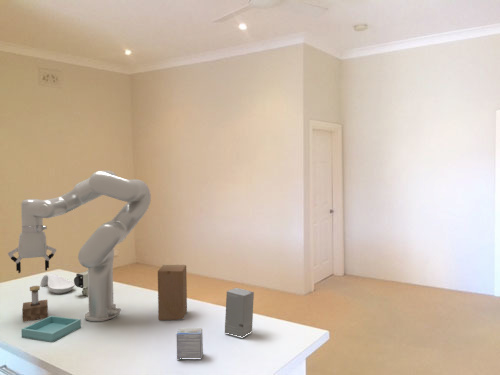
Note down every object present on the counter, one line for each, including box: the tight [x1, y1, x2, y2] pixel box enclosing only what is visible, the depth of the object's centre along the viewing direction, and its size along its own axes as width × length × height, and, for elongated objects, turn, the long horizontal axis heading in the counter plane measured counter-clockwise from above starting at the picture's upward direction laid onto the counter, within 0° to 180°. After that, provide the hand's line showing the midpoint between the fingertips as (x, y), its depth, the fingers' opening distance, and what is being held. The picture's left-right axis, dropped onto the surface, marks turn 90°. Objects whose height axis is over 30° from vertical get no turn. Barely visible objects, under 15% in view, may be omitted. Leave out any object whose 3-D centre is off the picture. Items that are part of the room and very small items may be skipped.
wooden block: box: [157, 264, 188, 321], centre depth 167 cm, size 10×10×20 cm
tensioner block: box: [21, 299, 49, 323], centre depth 168 cm, size 9×9×5 cm
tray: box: [20, 315, 82, 343], centre depth 151 cm, size 14×14×3 cm
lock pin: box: [29, 285, 41, 306], centre depth 168 cm, size 4×4×12 cm
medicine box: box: [175, 327, 204, 360], centre depth 131 cm, size 8×4×9 cm, turn 92°
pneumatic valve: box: [73, 269, 88, 297], centre depth 196 cm, size 6×12×12 cm, turn 144°
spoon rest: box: [39, 273, 76, 295], centre depth 205 cm, size 24×12×7 cm, turn 53°
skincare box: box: [224, 287, 255, 337], centre depth 148 cm, size 8×7×16 cm
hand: (33, 271), depth 167 cm, fingers open, 9 cm apart
